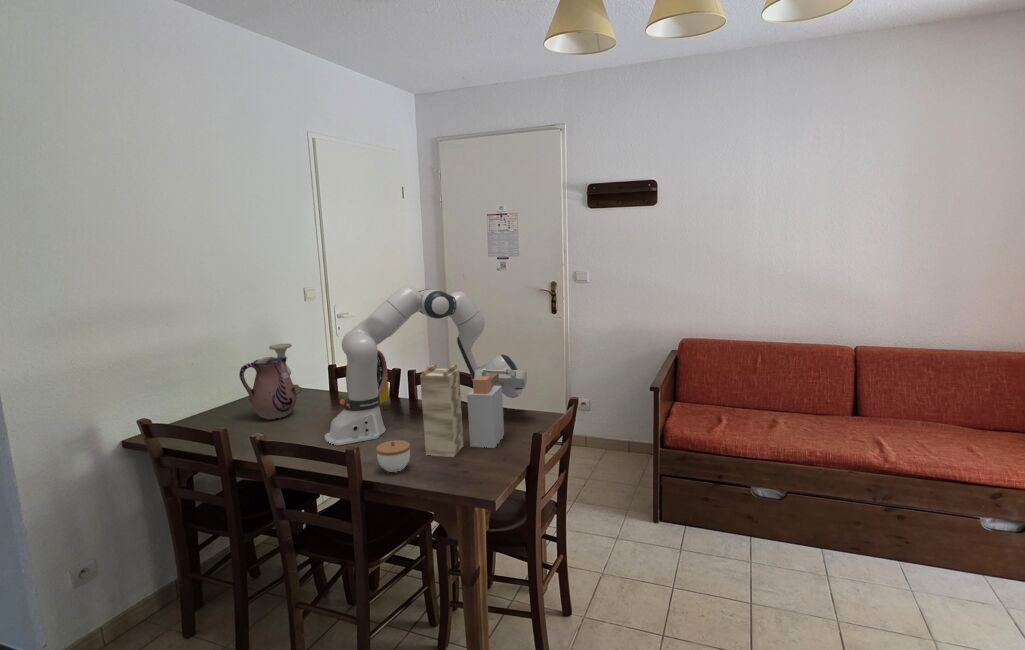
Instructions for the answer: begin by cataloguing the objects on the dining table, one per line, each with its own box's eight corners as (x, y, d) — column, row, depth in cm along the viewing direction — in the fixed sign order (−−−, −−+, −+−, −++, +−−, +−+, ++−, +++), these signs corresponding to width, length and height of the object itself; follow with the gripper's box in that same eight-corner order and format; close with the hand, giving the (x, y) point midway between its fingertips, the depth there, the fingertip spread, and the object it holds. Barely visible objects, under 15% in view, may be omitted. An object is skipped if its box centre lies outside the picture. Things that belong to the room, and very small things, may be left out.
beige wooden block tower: (437, 444, 211) (431, 364, 207) (463, 446, 209) (458, 364, 204) (425, 455, 202) (419, 371, 197) (453, 457, 199) (448, 371, 194)
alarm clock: (367, 412, 253) (361, 351, 249) (348, 411, 256) (342, 351, 251) (390, 398, 273) (385, 342, 269) (372, 397, 276) (367, 341, 271)
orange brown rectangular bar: (488, 380, 222) (488, 367, 221) (501, 380, 221) (500, 367, 220) (473, 393, 206) (472, 379, 205) (487, 394, 204) (486, 380, 203)
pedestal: (480, 434, 220) (478, 385, 216) (504, 436, 217) (501, 385, 214) (470, 446, 208) (467, 394, 205) (494, 448, 206) (492, 395, 203)
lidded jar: (380, 463, 197) (377, 436, 195) (412, 461, 198) (410, 434, 196) (375, 477, 186) (373, 448, 185) (410, 474, 187) (408, 446, 185)
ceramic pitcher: (306, 414, 254) (300, 357, 250) (258, 428, 238) (251, 367, 234) (284, 407, 265) (278, 353, 261) (238, 420, 249) (230, 362, 245)
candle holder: (301, 390, 293) (296, 343, 289) (289, 397, 282) (284, 348, 279) (281, 390, 295) (276, 343, 291) (268, 396, 285) (263, 348, 281)
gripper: (481, 372, 238) (470, 362, 225) (530, 373, 232) (522, 363, 220) (479, 387, 236) (468, 378, 223) (529, 388, 230) (520, 379, 218)
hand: (495, 370), depth 222 cm, fingers open, 8 cm apart
